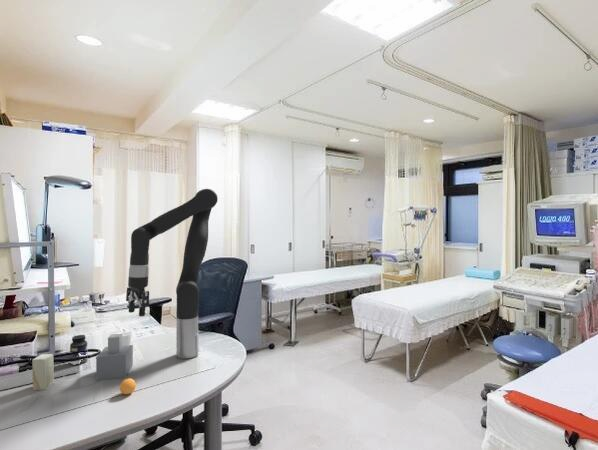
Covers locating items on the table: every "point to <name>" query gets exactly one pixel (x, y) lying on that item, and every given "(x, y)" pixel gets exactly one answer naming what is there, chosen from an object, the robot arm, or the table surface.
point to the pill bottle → (79, 345)
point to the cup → (126, 337)
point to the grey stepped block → (114, 359)
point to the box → (43, 371)
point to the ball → (127, 386)
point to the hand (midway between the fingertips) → (136, 314)
